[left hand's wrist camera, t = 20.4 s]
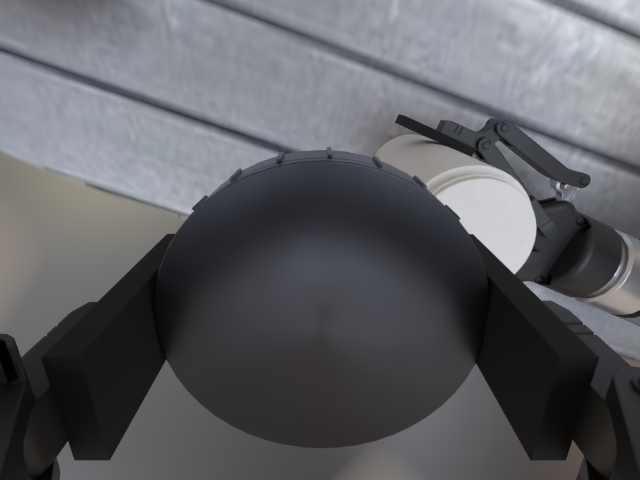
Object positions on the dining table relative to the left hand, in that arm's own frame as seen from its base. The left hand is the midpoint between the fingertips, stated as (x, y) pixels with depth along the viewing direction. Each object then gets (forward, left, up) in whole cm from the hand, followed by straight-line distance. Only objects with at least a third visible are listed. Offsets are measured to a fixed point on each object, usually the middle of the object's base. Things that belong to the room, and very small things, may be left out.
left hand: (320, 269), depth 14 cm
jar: (+7, +6, -28) cm, 29 cm away
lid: (0, 0, +3) cm, 3 cm away
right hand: (+3, +4, -21) cm, 22 cm away
